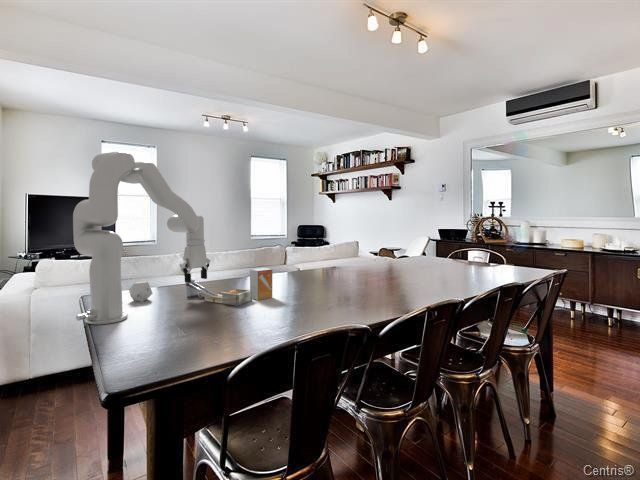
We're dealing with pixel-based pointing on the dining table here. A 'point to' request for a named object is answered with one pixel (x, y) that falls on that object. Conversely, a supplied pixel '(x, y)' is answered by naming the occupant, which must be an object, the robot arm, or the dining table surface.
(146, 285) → the die
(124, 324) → the dining table surface
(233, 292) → the ball
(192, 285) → the ramp
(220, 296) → the lane
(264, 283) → the small box
